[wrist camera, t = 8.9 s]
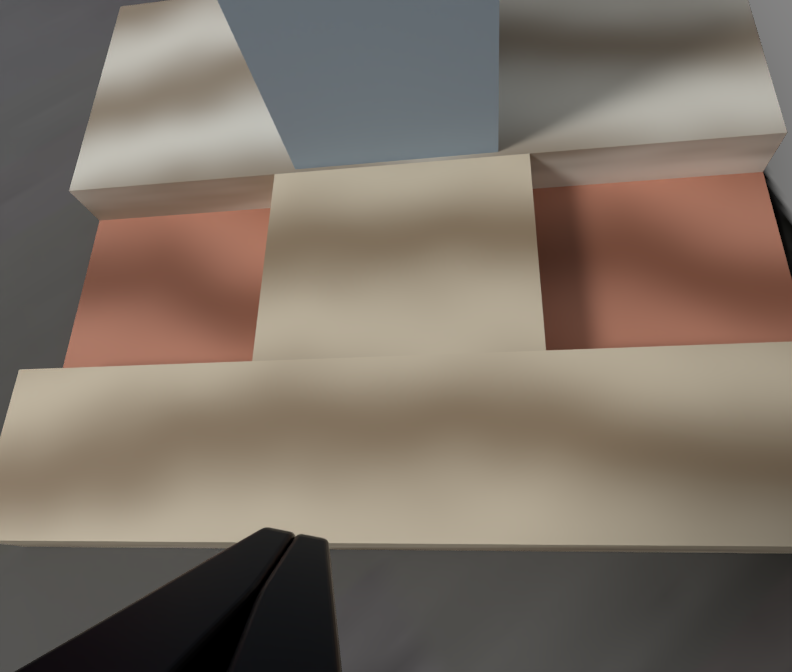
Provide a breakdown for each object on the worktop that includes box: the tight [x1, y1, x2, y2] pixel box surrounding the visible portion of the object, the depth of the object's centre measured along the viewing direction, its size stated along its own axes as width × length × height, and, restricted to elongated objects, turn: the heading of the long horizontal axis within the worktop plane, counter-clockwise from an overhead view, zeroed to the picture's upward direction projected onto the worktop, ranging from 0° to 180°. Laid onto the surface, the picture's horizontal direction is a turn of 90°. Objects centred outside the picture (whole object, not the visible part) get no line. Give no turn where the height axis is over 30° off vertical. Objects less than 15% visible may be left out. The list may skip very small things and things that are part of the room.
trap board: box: [0, 0, 792, 553], centre depth 24 cm, size 25×28×2 cm
